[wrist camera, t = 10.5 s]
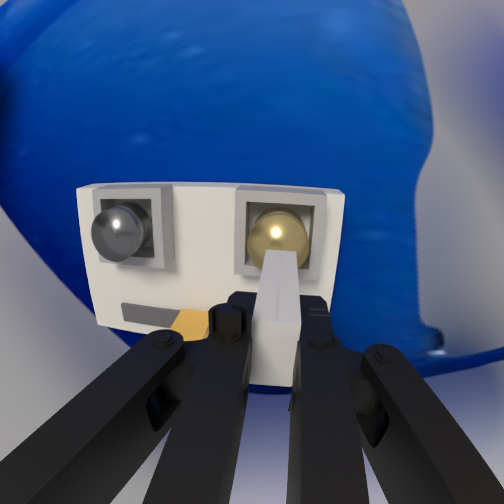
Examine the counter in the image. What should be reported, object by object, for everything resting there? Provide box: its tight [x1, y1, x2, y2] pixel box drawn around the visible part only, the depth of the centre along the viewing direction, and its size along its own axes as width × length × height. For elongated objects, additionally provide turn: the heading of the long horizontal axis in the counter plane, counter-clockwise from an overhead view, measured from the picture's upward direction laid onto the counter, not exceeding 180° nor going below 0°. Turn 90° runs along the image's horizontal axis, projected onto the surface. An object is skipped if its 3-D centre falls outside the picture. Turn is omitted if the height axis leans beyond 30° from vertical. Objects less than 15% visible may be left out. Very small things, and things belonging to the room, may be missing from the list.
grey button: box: [91, 202, 152, 262], centre depth 22 cm, size 4×4×3 cm
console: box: [76, 182, 345, 334], centre depth 26 cm, size 24×15×6 cm, turn 88°
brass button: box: [247, 207, 309, 271], centre depth 21 cm, size 4×4×3 cm
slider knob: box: [170, 309, 209, 341], centre depth 25 cm, size 3×3×4 cm
